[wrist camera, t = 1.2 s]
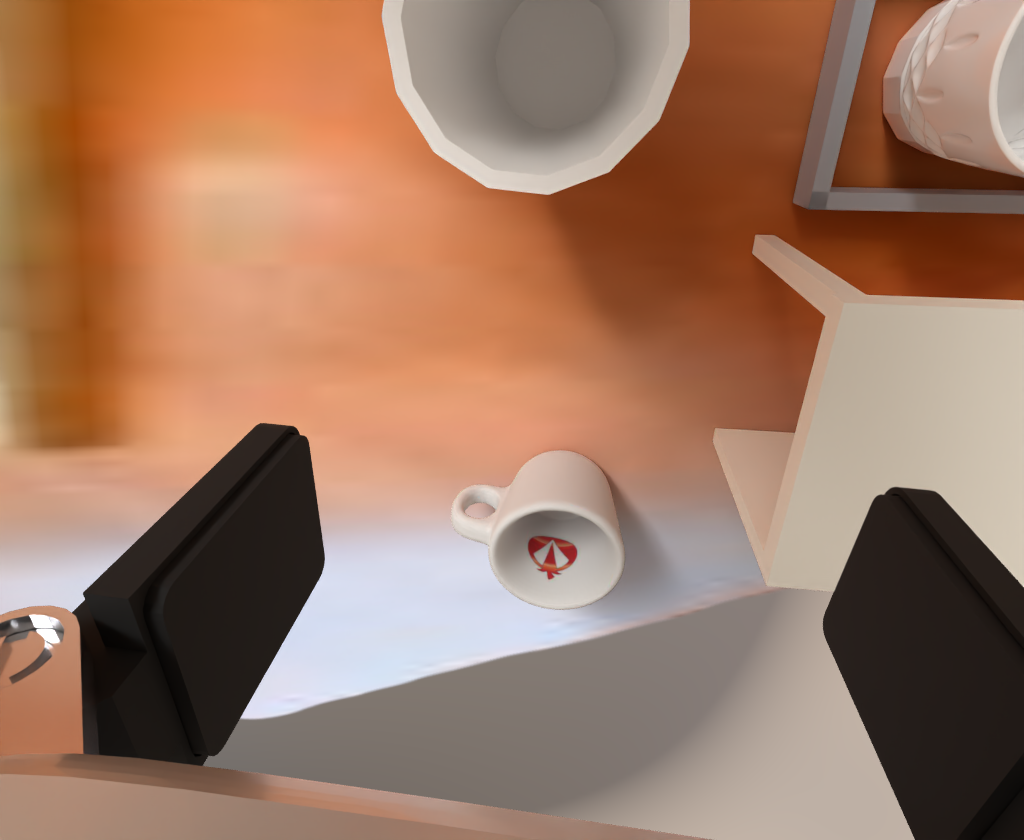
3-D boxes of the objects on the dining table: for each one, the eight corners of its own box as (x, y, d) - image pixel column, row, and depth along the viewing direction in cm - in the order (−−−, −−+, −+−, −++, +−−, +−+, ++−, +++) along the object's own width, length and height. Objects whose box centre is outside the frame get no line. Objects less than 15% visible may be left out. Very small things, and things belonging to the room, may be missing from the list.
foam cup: (450, -36, 28) (351, -141, 16) (647, -75, 26) (691, -220, 15) (480, 177, 32) (419, 210, 21) (652, 154, 31) (688, 177, 19)
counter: (751, 234, 32) (843, 302, 20) (1072, 242, 30) (1374, 322, 18) (712, 441, 38) (766, 586, 26) (977, 457, 36) (1161, 620, 25)
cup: (461, 513, 43) (436, 591, 36) (470, 418, 39) (444, 485, 32) (607, 538, 42) (610, 622, 35) (630, 444, 39) (639, 517, 32)
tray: (882, -216, 23) (934, -275, 20) (1235, -234, 22) (1358, -300, 18) (792, 202, 31) (818, 213, 27) (1053, 208, 29) (1116, 220, 26)
